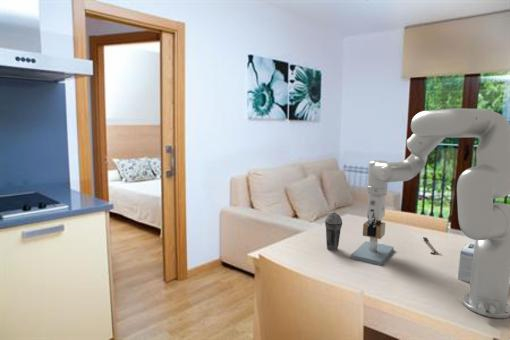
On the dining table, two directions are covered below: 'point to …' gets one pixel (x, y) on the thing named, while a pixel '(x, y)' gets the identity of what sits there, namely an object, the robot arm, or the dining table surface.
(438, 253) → the tactical tomahawk
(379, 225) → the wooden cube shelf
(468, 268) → the light bulb box
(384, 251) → the post board
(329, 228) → the beverage cup
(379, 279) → the dining table surface
